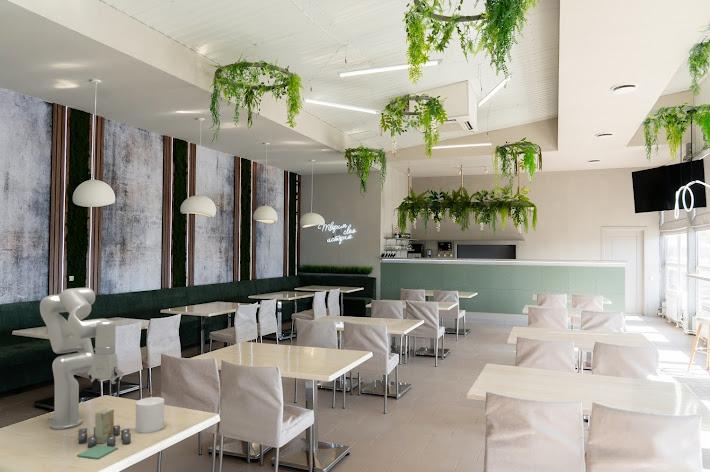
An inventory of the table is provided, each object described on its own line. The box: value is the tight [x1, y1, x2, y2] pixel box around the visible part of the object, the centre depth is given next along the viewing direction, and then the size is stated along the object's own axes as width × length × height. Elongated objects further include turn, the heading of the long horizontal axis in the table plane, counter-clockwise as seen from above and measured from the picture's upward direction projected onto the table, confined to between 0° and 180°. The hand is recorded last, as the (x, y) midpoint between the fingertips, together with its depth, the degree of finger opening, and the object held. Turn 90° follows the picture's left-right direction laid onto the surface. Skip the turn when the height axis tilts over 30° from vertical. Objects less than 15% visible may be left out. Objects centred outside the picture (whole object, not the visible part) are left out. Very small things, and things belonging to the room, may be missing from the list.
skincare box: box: [94, 408, 115, 444], centre depth 204 cm, size 6×4×12 cm
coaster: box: [76, 444, 119, 460], centre depth 192 cm, size 10×10×1 cm
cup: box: [135, 396, 165, 434], centre depth 218 cm, size 12×12×12 cm
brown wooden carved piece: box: [142, 390, 157, 399], centre depth 233 cm, size 9×4×12 cm, turn 122°
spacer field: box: [78, 424, 132, 449], centre depth 204 cm, size 25×16×4 cm, turn 74°
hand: (105, 391), depth 205 cm, fingers open, 9 cm apart
